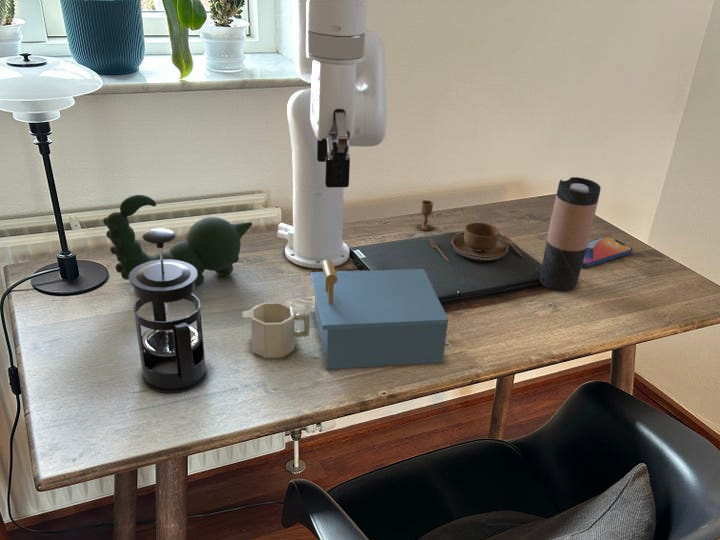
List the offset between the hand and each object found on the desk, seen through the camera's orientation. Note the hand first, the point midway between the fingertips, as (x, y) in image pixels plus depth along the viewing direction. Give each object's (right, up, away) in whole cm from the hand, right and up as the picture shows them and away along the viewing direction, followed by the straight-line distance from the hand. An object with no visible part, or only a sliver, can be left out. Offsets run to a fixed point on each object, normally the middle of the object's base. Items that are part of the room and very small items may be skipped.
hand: (332, 173), depth 105 cm
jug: (-11, -24, +13) cm, 30 cm away
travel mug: (+40, -12, +39) cm, 57 cm away
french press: (-24, -29, +5) cm, 38 cm away
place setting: (+24, -2, +51) cm, 56 cm away
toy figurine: (-28, -13, +28) cm, 42 cm away
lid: (+6, -17, +13) cm, 22 cm away
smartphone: (+51, -4, +51) cm, 72 cm away
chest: (+6, -23, +18) cm, 29 cm away
